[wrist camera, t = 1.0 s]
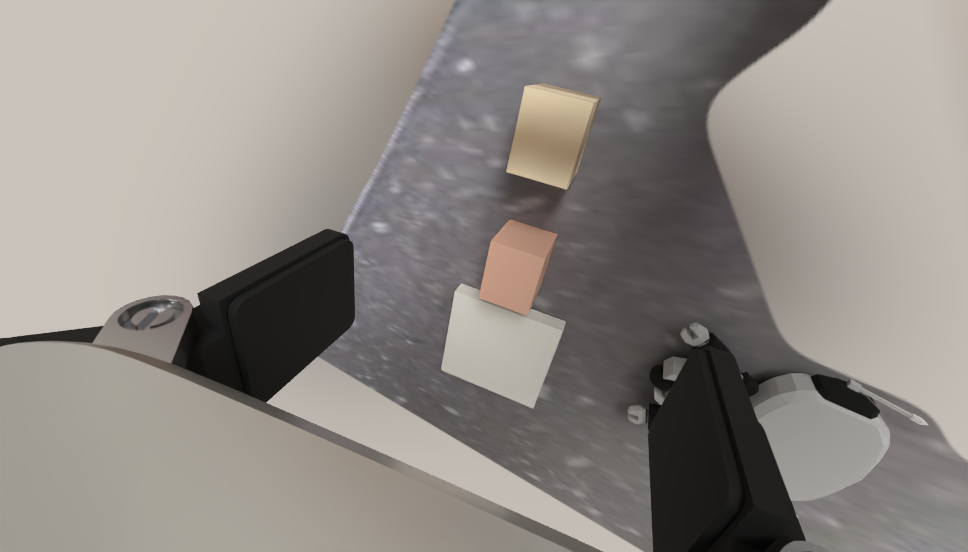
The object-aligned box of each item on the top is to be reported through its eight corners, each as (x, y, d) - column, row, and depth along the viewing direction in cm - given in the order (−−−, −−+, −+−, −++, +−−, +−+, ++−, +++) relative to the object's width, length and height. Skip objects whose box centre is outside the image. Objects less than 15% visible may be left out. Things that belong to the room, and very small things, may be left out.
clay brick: (510, 218, 31) (490, 240, 27) (557, 233, 30) (545, 259, 26) (497, 270, 34) (478, 297, 30) (541, 285, 33) (527, 315, 29)
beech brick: (542, 83, 26) (524, 86, 22) (601, 97, 25) (593, 103, 21) (524, 157, 28) (506, 171, 25) (577, 172, 28) (566, 189, 24)
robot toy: (622, 397, 37) (791, 480, 33) (616, 433, 33) (805, 531, 29) (688, 295, 30) (908, 386, 26) (690, 326, 26) (946, 436, 23)
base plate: (461, 283, 36) (454, 291, 34) (566, 321, 34) (563, 331, 32) (447, 360, 41) (440, 370, 40) (536, 397, 39) (533, 408, 38)
